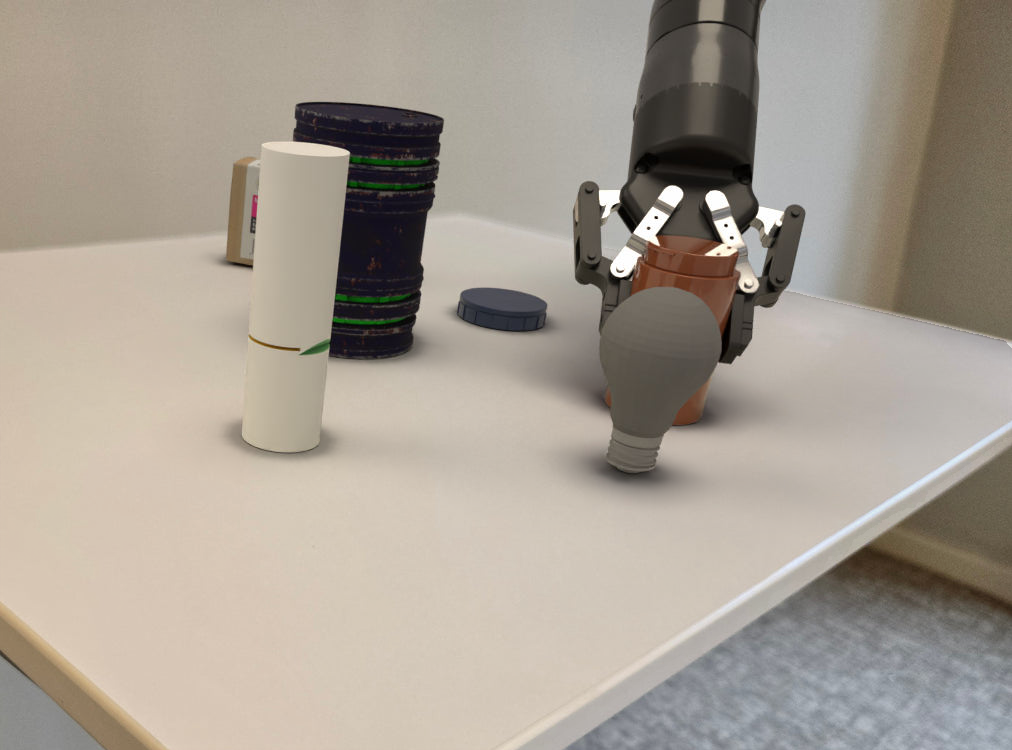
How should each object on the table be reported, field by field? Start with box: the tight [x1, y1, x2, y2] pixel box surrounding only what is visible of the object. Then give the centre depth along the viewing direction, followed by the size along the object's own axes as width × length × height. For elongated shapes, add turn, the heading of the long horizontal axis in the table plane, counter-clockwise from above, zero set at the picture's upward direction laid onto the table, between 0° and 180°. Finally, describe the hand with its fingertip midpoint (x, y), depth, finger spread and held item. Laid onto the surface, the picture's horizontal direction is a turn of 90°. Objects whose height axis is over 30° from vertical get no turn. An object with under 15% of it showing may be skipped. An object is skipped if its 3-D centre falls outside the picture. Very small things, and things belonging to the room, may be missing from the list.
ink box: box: [225, 156, 261, 266], centre depth 91 cm, size 10×4×8 cm, turn 73°
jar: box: [604, 235, 741, 426], centre depth 66 cm, size 6×6×10 cm
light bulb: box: [598, 287, 722, 474], centre depth 57 cm, size 6×6×10 cm
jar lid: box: [456, 287, 548, 332], centre depth 84 cm, size 7×7×2 cm
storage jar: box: [292, 101, 445, 360], centre depth 73 cm, size 10×10×15 cm
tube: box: [241, 141, 350, 453], centre depth 55 cm, size 4×4×15 cm
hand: (672, 349), depth 65 cm, fingers closed on jar, 6 cm apart
